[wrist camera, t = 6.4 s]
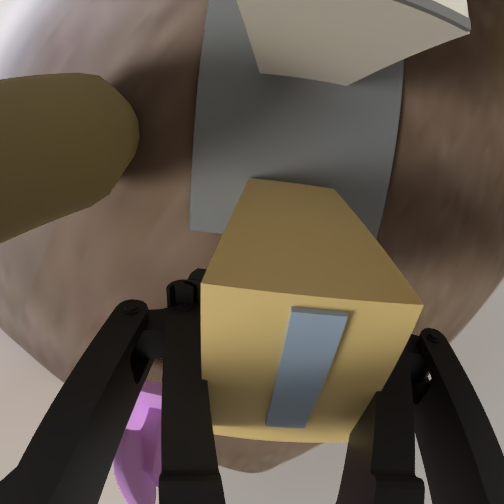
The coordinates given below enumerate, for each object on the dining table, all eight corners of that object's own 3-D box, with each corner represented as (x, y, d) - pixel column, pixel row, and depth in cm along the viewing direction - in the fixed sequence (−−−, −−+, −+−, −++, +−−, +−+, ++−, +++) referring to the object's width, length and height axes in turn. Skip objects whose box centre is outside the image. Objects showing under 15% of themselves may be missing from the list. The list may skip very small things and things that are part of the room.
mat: (227, -85, 9) (226, -88, 9) (397, -60, 9) (398, -62, 8) (191, 228, 19) (189, 230, 19) (371, 249, 19) (373, 252, 18)
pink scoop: (109, 301, 22) (10, 444, 9) (211, 316, 22) (154, 509, 8) (127, 369, 26) (68, 495, 12) (213, 385, 25) (180, 534, 12)
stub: (249, 177, 17) (198, 288, 6) (333, 188, 17) (426, 309, 6) (241, 269, 19) (203, 437, 8) (316, 277, 19) (348, 446, 8)
